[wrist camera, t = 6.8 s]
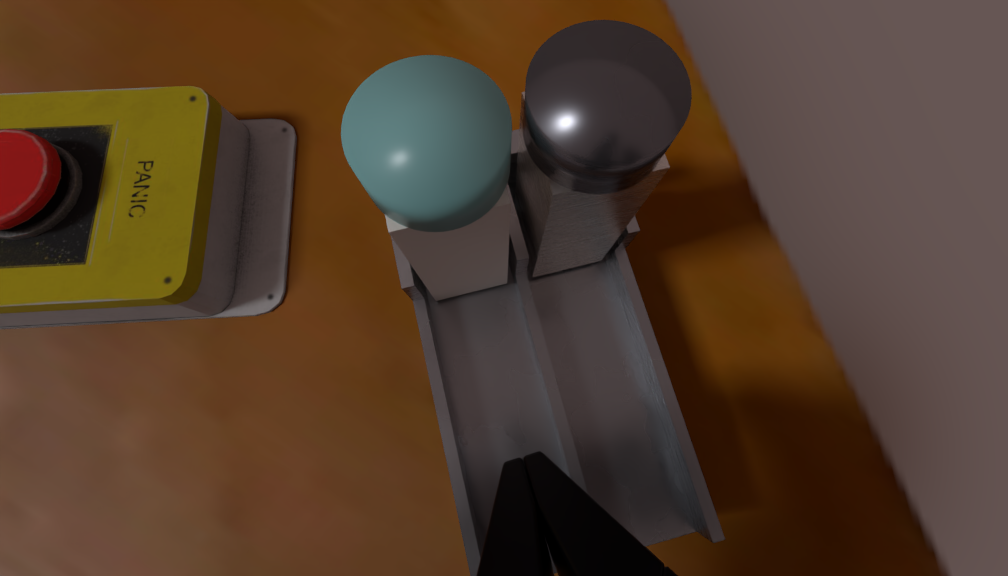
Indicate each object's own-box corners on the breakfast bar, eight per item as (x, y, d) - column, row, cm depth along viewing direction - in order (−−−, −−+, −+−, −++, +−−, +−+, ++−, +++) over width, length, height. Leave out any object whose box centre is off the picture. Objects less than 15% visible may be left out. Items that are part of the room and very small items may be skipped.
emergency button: (-157, 70, 16) (252, 54, 16) (-18, 140, 20) (303, 125, 20) (-252, 316, 14) (225, 292, 14) (-73, 335, 18) (290, 316, 18)
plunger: (516, 288, 16) (531, 182, 8) (429, 310, 16) (356, 222, 8) (495, 209, 17) (488, 40, 9) (411, 229, 17) (328, 74, 9)
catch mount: (692, 518, 16) (987, 707, 6) (481, 579, 15) (448, 891, 6) (581, 184, 19) (662, -29, 10) (405, 226, 19) (303, 43, 9)
